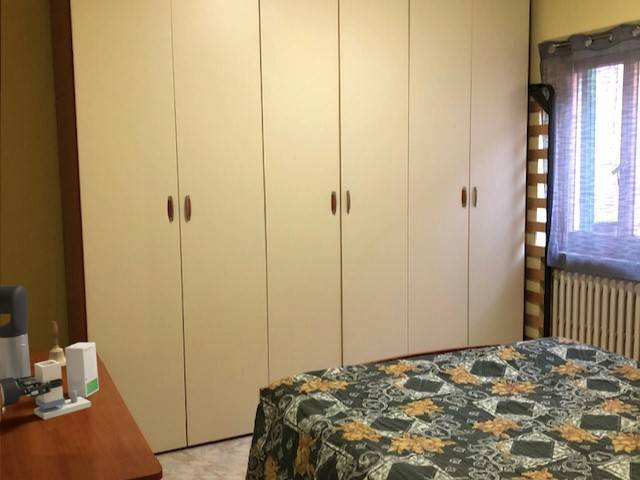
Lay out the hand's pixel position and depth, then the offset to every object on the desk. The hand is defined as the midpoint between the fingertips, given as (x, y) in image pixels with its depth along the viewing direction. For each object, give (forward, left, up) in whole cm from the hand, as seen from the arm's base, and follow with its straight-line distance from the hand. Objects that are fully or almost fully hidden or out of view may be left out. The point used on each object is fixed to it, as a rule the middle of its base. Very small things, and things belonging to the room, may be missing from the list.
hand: (57, 379), depth 208 cm
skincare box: (+2, +15, -10) cm, 18 cm away
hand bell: (-18, +49, -10) cm, 53 cm away
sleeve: (-2, -2, -6) cm, 7 cm away
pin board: (+1, +1, -9) cm, 9 cm away
